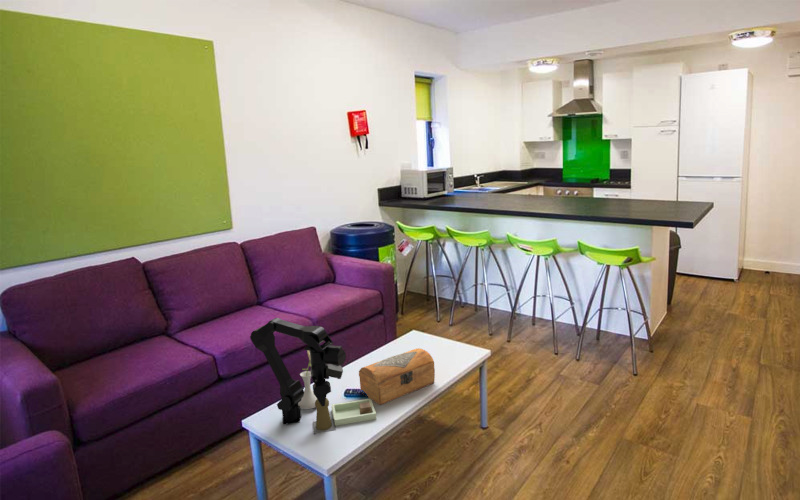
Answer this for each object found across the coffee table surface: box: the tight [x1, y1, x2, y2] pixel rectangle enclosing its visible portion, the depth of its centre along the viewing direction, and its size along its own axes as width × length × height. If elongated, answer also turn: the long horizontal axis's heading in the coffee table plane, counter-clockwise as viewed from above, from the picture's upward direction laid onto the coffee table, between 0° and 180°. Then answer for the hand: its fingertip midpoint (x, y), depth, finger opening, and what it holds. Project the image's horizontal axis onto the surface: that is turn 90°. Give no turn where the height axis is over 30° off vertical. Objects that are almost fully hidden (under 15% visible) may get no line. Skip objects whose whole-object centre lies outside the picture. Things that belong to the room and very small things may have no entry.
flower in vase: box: [298, 350, 317, 410], centre depth 206 cm, size 13×11×25 cm
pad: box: [312, 418, 337, 435], centre depth 191 cm, size 8×8×1 cm
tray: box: [331, 398, 377, 427], centre depth 198 cm, size 16×12×3 cm
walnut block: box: [359, 402, 371, 415], centre depth 197 cm, size 4×4×4 cm
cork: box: [315, 397, 332, 430], centre depth 190 cm, size 6×6×11 cm
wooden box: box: [358, 347, 436, 406], centre depth 217 cm, size 30×16×14 cm, turn 126°
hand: (322, 400), depth 189 cm, fingers open, 9 cm apart
